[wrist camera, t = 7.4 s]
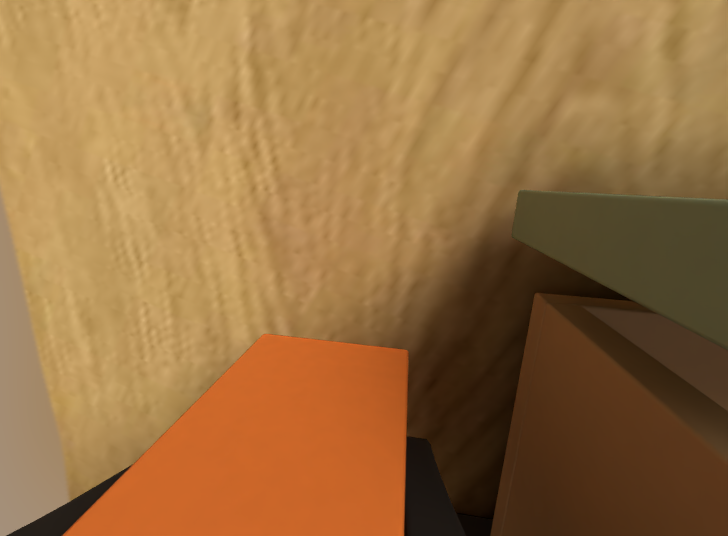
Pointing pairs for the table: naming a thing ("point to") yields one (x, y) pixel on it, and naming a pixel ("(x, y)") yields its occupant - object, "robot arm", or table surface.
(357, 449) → the orange rectangular block
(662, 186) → the table surface
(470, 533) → the cabinet
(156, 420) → the table surface
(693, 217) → the drawer
